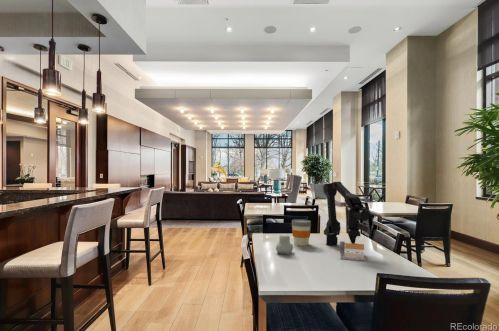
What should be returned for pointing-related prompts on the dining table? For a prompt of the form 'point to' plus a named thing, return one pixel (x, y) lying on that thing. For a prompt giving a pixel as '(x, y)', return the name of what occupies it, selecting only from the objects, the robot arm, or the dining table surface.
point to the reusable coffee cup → (301, 231)
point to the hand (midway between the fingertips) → (353, 245)
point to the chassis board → (352, 254)
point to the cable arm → (351, 246)
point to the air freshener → (284, 244)
